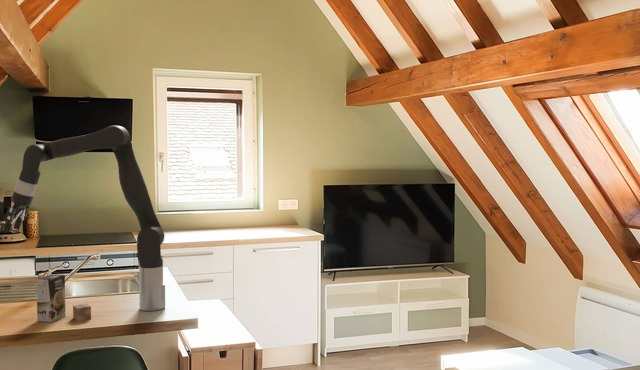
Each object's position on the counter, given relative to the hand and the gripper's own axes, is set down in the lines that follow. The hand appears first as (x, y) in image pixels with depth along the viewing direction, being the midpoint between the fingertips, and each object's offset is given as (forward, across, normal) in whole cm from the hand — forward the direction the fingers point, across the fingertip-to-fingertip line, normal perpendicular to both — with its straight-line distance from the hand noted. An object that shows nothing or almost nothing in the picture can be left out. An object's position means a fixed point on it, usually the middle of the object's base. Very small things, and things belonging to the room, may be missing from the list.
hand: (11, 230), depth 259 cm
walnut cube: (+18, -15, -42) cm, 48 cm away
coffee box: (+22, -15, -31) cm, 41 cm away
